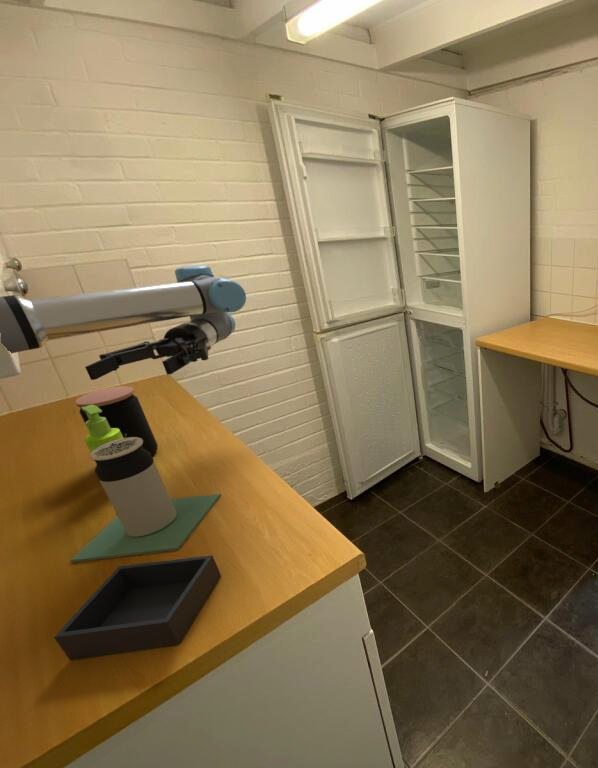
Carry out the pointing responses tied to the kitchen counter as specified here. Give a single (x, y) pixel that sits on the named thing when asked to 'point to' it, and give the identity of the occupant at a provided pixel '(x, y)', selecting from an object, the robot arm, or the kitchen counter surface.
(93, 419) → the soap dispenser
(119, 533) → the mat
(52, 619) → the kitchen counter surface
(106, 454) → the travel mug
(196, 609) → the dark grey tray
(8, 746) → the kitchen counter surface
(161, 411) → the kitchen counter surface
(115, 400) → the coffee jar
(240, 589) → the kitchen counter surface
